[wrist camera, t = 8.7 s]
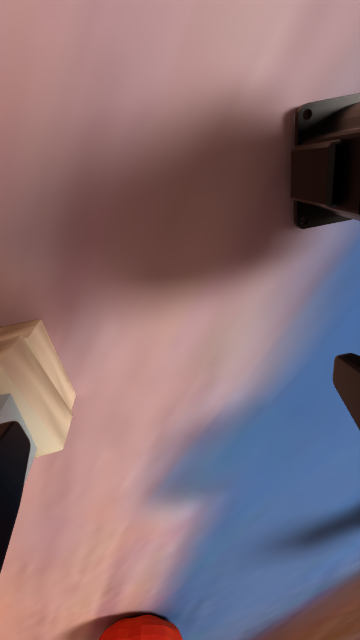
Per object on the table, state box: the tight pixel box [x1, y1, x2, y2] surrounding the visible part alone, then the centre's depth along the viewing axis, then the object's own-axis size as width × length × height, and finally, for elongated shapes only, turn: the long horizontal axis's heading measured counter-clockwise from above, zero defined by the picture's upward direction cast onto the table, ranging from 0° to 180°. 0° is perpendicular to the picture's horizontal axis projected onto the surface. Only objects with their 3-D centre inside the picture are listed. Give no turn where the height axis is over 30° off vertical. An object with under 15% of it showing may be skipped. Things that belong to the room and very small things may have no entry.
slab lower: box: [0, 319, 76, 410], centre depth 21 cm, size 7×7×3 cm
